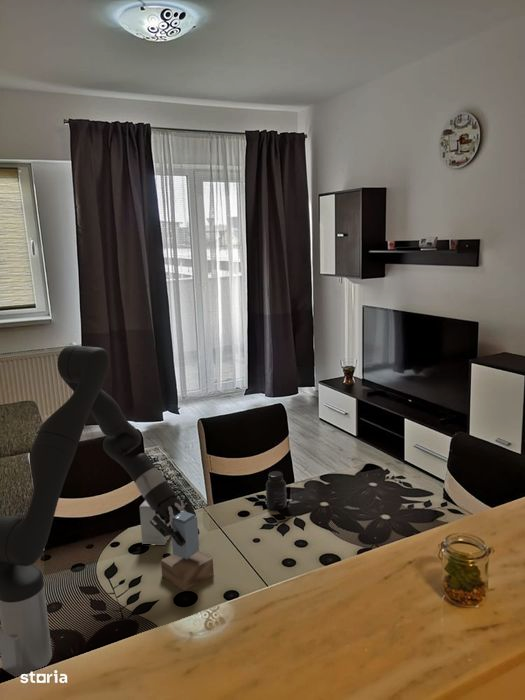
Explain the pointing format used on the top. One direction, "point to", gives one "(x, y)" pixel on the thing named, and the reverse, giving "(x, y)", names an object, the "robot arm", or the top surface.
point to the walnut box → (187, 569)
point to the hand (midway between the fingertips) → (190, 539)
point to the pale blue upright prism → (186, 534)
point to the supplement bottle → (276, 491)
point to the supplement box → (150, 527)
